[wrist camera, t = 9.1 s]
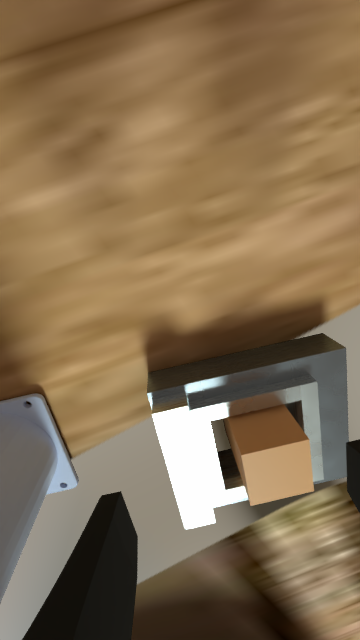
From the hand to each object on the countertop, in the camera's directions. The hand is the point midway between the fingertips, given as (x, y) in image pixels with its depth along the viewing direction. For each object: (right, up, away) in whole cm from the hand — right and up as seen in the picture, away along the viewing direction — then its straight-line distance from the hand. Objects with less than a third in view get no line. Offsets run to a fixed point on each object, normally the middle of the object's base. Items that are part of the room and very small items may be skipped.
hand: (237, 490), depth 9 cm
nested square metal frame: (+3, -1, +12) cm, 12 cm away
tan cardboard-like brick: (+3, -1, +11) cm, 12 cm away
